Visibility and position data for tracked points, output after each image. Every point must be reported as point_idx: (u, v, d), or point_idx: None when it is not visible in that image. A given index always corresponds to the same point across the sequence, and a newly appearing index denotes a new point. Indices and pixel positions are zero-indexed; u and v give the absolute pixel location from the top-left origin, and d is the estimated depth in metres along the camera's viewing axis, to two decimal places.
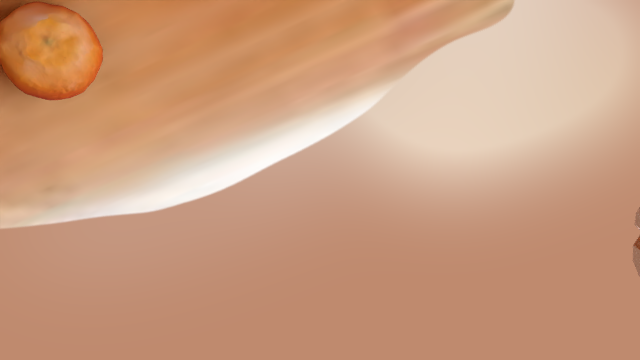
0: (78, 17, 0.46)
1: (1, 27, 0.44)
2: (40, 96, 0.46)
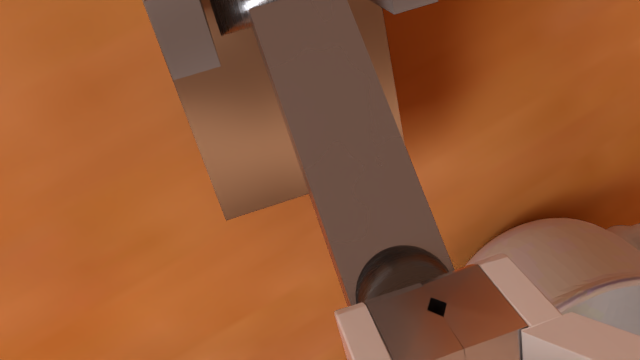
0: None
1: None
2: None
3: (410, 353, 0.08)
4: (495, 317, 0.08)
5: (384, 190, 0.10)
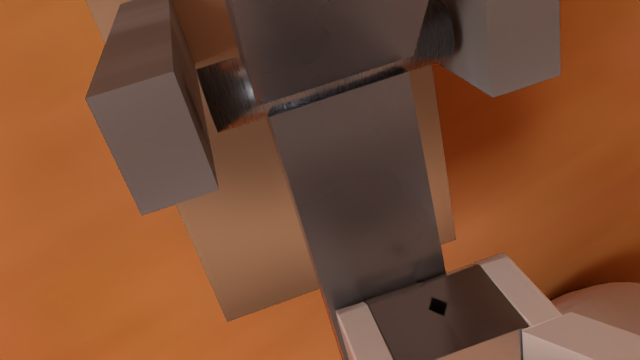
0: None
1: None
2: None
3: (412, 352, 0.08)
4: (495, 317, 0.08)
5: None
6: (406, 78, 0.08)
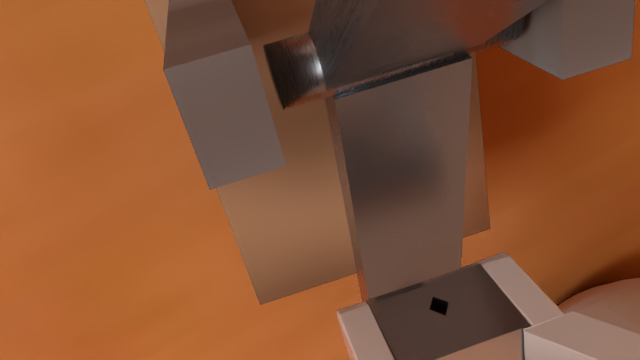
0: None
1: None
2: None
3: (413, 352, 0.08)
4: (497, 316, 0.08)
5: (428, 260, 0.11)
6: (467, 61, 0.08)
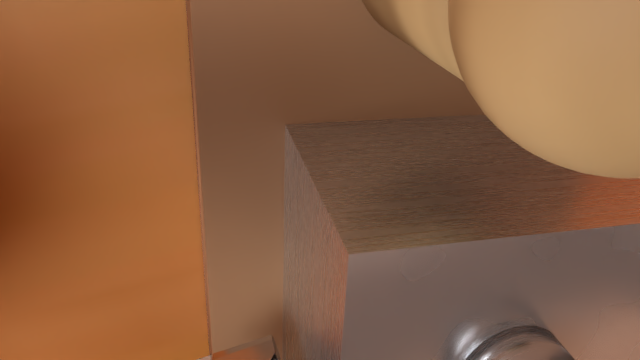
0: None
1: None
2: None
3: None
4: None
5: None
6: None
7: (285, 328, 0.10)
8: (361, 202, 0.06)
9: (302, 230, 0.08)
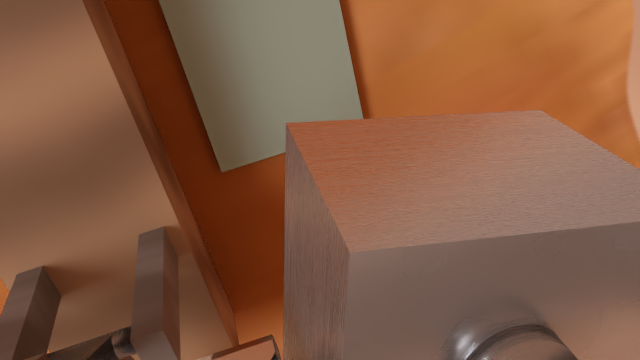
0: None
1: None
2: None
3: None
4: None
5: None
6: (120, 359, 0.18)
7: (286, 327, 0.10)
8: (362, 199, 0.06)
9: (303, 228, 0.08)
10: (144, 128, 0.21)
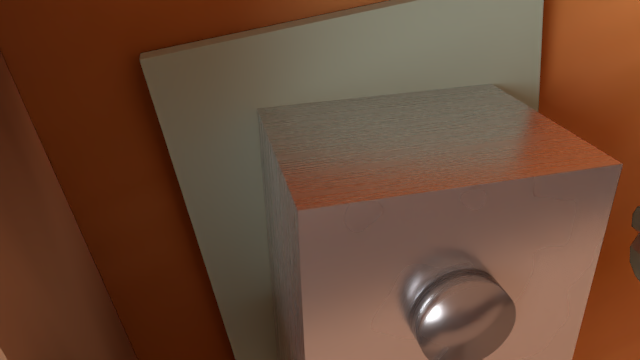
0: None
1: None
2: None
3: None
4: None
5: None
6: None
7: (273, 294, 0.11)
8: (315, 168, 0.07)
9: (274, 200, 0.09)
10: None
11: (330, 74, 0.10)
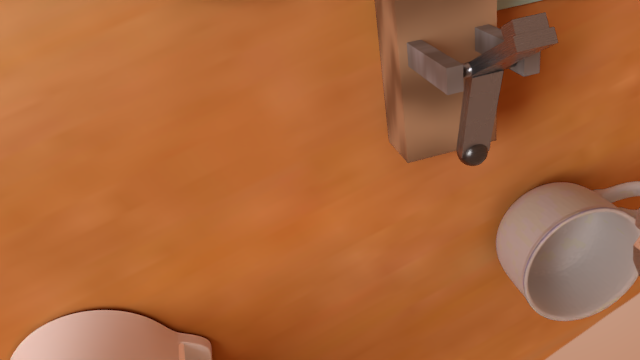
0: None
1: None
2: None
3: None
4: None
5: (483, 131, 0.36)
6: (502, 71, 0.33)
7: None
8: None
9: None
10: None
11: None
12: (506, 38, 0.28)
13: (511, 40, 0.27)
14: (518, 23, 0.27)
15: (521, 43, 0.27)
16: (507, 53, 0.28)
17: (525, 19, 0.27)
